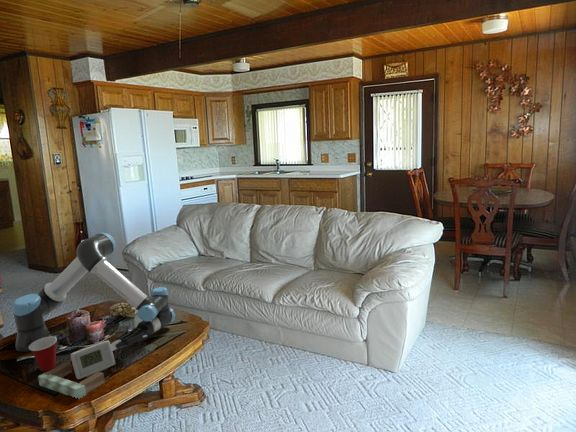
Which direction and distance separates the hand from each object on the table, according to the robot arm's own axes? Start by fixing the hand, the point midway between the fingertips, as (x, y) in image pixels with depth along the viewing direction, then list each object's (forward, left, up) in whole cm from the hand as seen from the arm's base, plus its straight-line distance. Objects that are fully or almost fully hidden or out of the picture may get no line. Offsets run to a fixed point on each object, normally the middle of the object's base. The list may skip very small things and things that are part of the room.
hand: (108, 349), depth 190 cm
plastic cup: (-22, -14, -6) cm, 27 cm away
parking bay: (0, -17, -6) cm, 18 cm away
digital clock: (0, -8, -6) cm, 10 cm away
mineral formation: (-35, +40, -6) cm, 53 cm away
